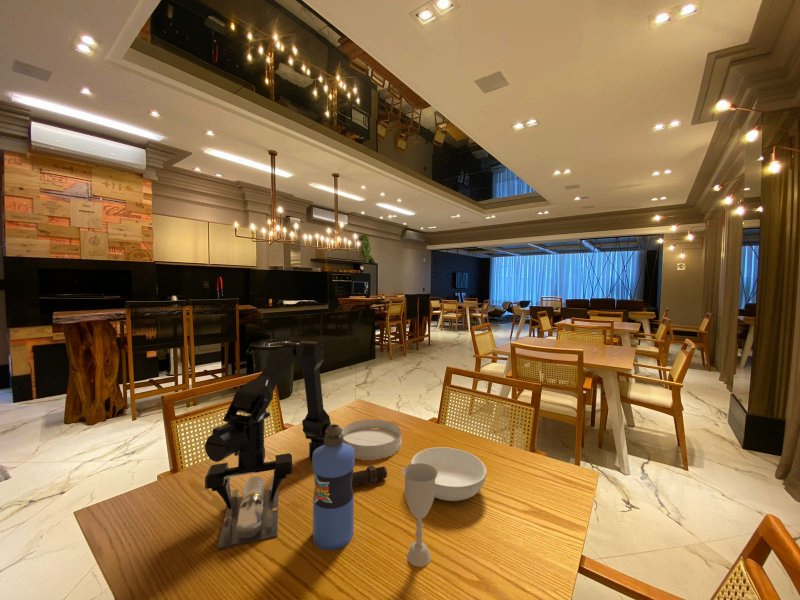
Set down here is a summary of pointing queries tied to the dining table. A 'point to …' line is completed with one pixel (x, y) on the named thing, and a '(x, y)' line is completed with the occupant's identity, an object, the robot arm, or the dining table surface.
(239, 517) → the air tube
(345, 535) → the water bottle
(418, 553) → the chalice
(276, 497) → the collar cradle
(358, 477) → the bolt
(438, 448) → the serving bowl
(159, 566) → the dining table surface
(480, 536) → the dining table surface
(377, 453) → the dish
